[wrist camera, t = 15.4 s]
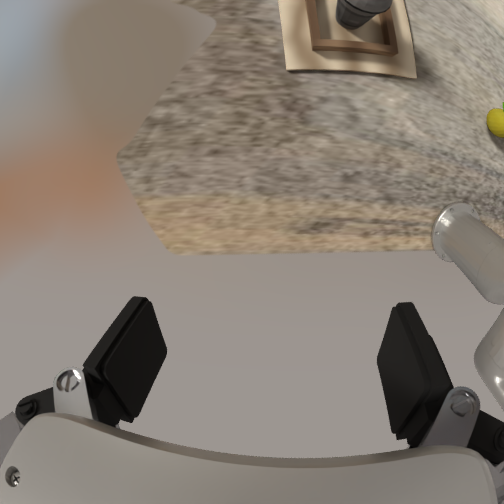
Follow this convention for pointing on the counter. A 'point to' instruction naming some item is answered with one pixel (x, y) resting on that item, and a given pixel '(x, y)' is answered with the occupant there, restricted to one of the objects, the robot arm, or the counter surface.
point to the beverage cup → (359, 11)
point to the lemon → (496, 121)
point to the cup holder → (346, 40)
